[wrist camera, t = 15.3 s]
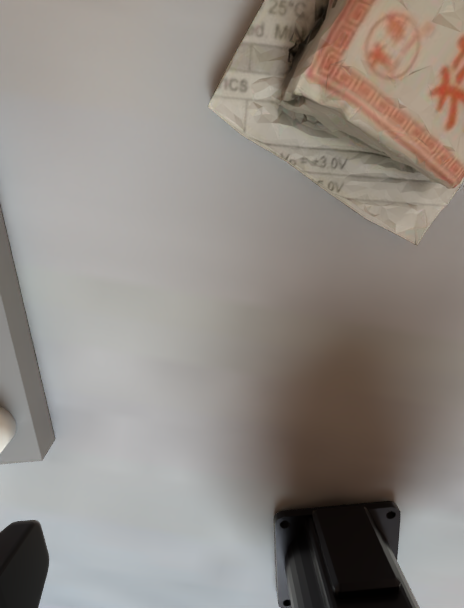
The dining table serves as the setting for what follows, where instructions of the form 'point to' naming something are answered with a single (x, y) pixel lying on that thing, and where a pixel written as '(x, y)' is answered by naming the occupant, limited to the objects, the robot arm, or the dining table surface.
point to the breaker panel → (19, 374)
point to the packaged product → (357, 101)
